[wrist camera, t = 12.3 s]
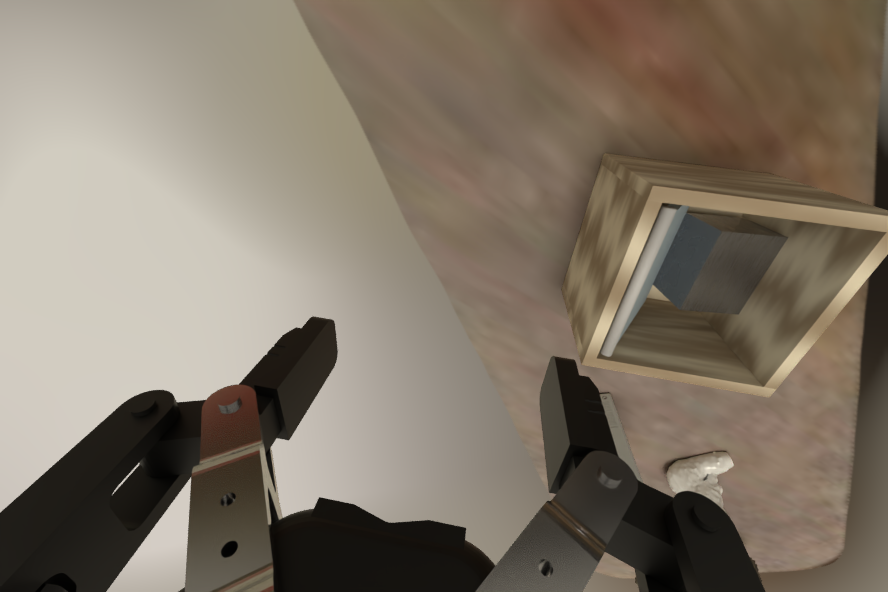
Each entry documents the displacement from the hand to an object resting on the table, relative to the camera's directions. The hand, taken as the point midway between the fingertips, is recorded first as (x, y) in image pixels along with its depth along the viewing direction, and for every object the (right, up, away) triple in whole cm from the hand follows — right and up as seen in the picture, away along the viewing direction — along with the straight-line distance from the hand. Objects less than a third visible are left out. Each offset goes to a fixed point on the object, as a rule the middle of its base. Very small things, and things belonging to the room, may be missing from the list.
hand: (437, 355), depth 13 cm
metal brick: (+23, +6, +21) cm, 32 cm away
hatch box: (+24, +9, +26) cm, 36 cm away
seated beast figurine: (+40, -25, +43) cm, 64 cm away
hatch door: (+19, +5, +19) cm, 27 cm away
